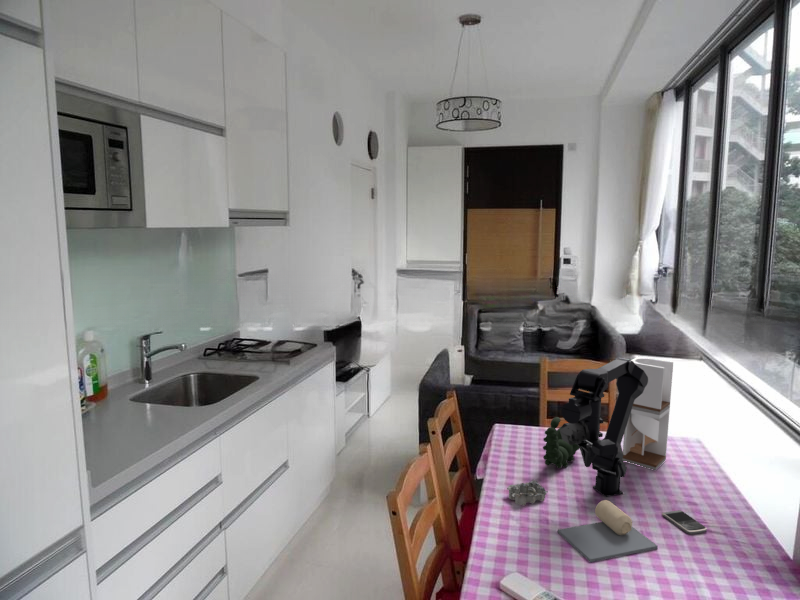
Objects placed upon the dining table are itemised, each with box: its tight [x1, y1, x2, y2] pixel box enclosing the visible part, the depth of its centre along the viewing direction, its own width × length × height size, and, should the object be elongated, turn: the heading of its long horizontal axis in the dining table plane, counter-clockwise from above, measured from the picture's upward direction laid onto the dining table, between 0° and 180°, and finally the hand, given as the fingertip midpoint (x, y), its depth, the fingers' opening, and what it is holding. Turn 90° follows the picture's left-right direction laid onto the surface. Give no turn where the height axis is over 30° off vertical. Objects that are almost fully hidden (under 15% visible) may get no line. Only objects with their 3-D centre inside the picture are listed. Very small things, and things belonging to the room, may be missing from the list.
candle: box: [594, 499, 633, 535], centre depth 154 cm, size 6×6×10 cm
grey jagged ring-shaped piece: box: [506, 479, 549, 506], centre depth 172 cm, size 11×8×4 cm
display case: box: [622, 356, 674, 471], centre depth 196 cm, size 11×11×35 cm
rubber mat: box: [557, 521, 659, 563], centre depth 150 cm, size 20×14×1 cm
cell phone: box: [661, 509, 708, 535], centre depth 159 cm, size 6×11×1 cm, turn 14°
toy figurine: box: [542, 416, 580, 469], centre depth 197 cm, size 9×19×25 cm
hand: (587, 466), depth 166 cm, fingers closed
